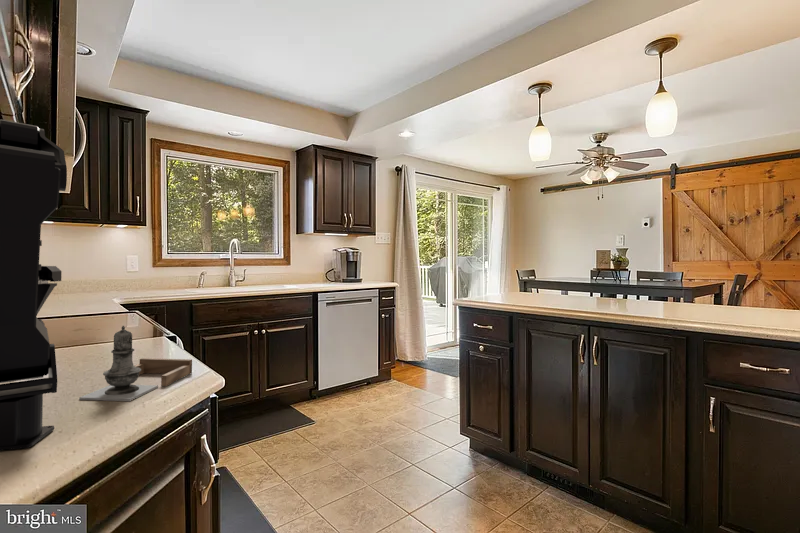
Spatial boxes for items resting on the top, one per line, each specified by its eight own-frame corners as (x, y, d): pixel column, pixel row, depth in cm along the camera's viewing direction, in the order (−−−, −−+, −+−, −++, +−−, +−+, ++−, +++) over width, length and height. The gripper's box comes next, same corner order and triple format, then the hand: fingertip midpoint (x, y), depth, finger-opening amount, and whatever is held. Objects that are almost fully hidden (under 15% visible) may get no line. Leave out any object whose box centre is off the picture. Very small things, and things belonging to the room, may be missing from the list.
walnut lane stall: (166, 386, 81) (166, 370, 81) (111, 384, 81) (111, 369, 81) (191, 373, 90) (192, 359, 90) (142, 371, 91) (142, 358, 91)
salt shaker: (122, 396, 73) (123, 328, 73) (94, 394, 74) (95, 327, 74) (148, 387, 79) (149, 324, 79) (122, 384, 80) (123, 322, 80)
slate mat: (130, 401, 72) (130, 398, 72) (79, 399, 72) (79, 397, 72) (158, 387, 80) (158, 385, 80) (112, 386, 80) (112, 384, 80)
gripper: (-11, 234, 74) (-12, 321, 74) (-103, 225, 56) (-104, 340, 56) (63, 236, 77) (62, 320, 77) (-1, 229, 59) (-3, 338, 60)
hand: (11, 328), depth 68 cm, fingers open, 9 cm apart
